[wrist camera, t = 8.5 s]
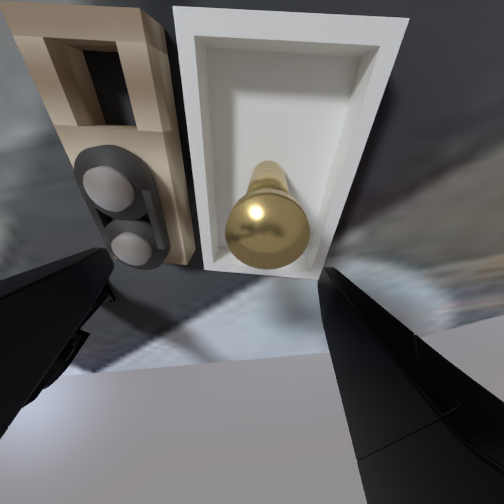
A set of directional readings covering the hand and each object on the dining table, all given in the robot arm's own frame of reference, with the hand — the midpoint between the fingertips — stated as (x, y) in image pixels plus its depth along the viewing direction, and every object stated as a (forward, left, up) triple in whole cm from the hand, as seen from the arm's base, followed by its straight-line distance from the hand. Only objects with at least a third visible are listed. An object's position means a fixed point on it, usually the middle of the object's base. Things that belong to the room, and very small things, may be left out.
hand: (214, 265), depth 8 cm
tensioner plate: (+1, +10, -13) cm, 16 cm away
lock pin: (+1, -2, -12) cm, 12 cm away
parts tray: (+1, -2, -13) cm, 13 cm away
